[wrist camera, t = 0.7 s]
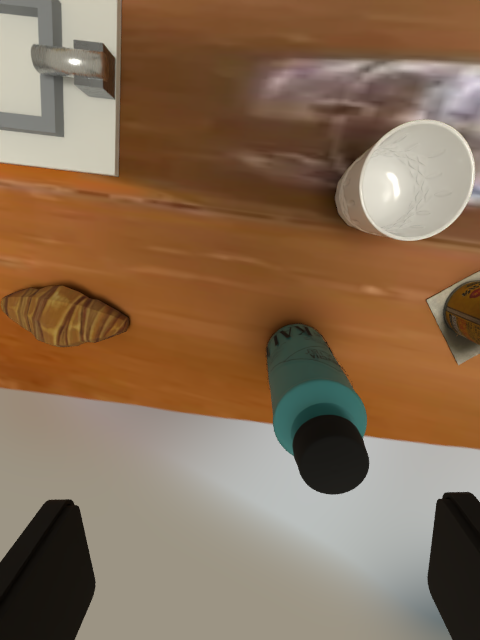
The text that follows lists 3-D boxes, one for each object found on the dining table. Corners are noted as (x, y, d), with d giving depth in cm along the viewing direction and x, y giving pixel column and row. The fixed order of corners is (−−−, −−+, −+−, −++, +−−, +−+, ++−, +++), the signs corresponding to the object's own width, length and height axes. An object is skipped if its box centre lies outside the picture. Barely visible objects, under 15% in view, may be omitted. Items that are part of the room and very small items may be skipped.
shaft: (55, 92, 31) (31, 76, 28) (54, 51, 30) (29, 29, 27) (115, 99, 31) (99, 84, 28) (116, 58, 30) (99, 37, 27)
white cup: (319, 167, 33) (347, 143, 23) (401, 138, 32) (466, 101, 22) (339, 247, 35) (372, 255, 25) (417, 222, 34) (483, 220, 24)
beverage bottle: (315, 378, 39) (378, 528, 19) (257, 366, 39) (264, 506, 19) (330, 323, 37) (416, 429, 18) (270, 311, 37) (291, 404, 18)
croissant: (11, 330, 39) (-23, 344, 34) (11, 271, 37) (-25, 277, 32) (129, 351, 39) (112, 368, 34) (135, 293, 37) (118, 303, 32)
